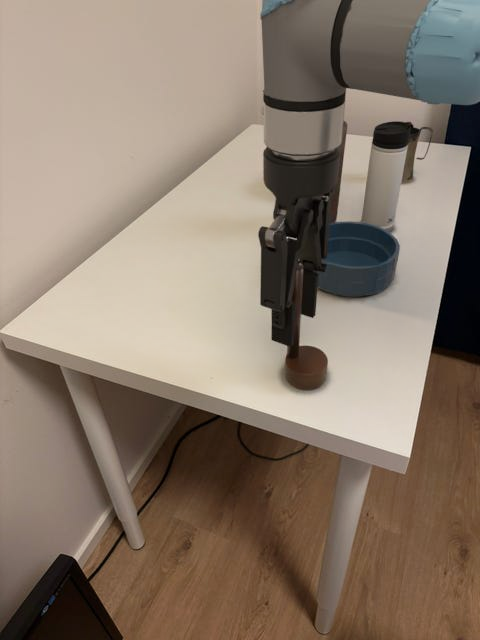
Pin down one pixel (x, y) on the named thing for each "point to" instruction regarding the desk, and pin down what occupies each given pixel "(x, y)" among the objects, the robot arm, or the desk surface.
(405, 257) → the desk surface
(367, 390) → the desk surface
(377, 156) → the travel mug
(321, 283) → the mixing bowl
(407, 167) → the mug
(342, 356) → the desk surface
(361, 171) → the desk surface
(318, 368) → the ladle
